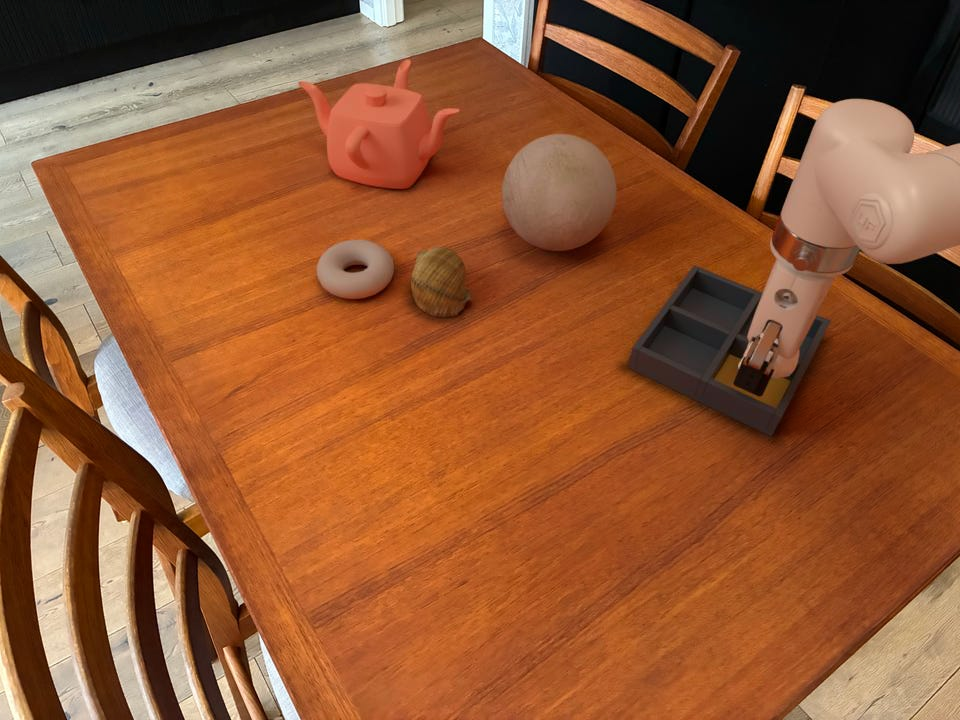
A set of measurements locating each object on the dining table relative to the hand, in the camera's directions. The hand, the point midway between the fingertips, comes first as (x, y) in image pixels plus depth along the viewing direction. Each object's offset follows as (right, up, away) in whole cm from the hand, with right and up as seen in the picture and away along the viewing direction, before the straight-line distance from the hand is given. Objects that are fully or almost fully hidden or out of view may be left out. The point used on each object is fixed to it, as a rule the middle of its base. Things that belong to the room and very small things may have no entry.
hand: (760, 367), depth 80 cm
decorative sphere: (-20, +18, +22) cm, 35 cm away
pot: (-45, +32, +34) cm, 65 cm away
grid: (-1, +1, +7) cm, 8 cm away
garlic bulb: (0, -1, +1) cm, 2 cm away
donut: (-47, +11, +16) cm, 51 cm away
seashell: (-35, +9, +14) cm, 39 cm away
